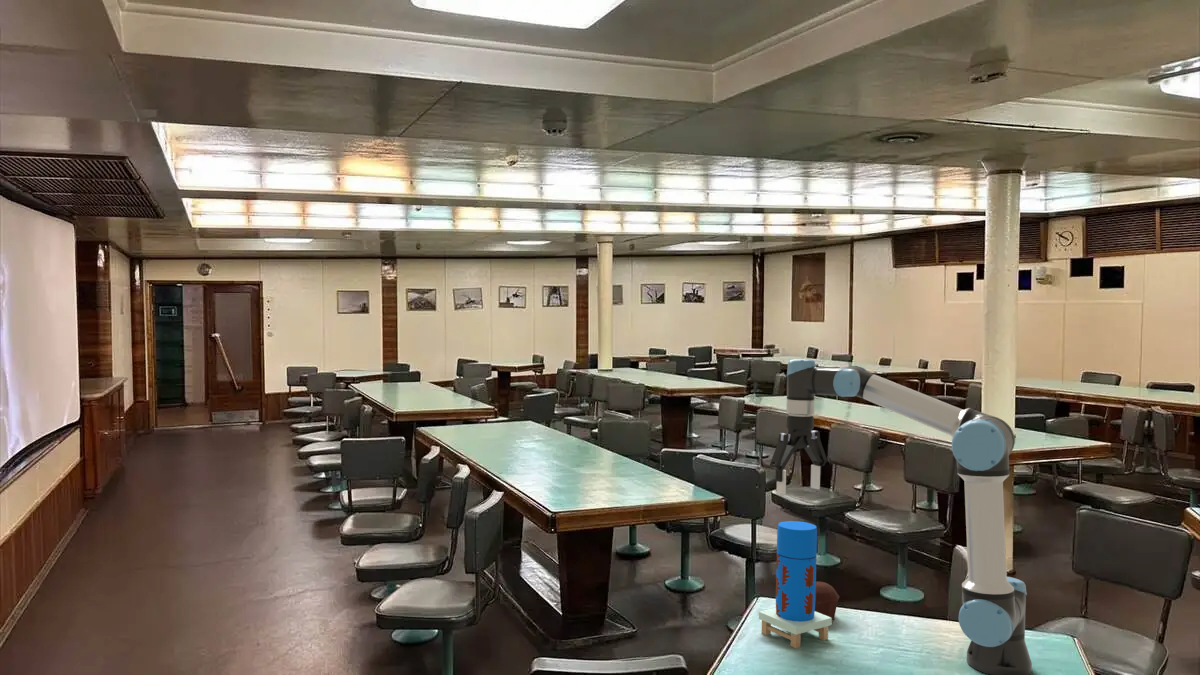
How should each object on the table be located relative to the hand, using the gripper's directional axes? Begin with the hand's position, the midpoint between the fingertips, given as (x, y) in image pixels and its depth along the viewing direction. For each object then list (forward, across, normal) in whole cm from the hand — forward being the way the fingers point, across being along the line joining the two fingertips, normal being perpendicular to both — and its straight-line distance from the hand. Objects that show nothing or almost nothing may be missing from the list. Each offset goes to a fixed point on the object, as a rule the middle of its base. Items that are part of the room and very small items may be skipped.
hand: (798, 491), depth 232 cm
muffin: (+41, -18, -7) cm, 45 cm away
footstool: (+41, 0, 0) cm, 41 cm away
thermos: (+35, 0, 0) cm, 35 cm away
